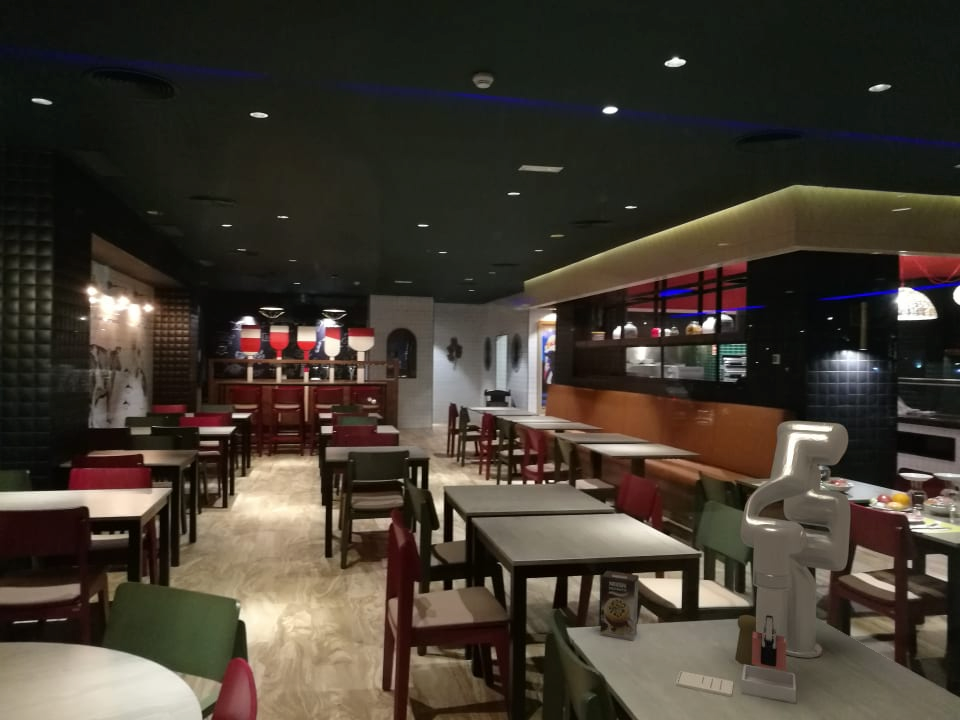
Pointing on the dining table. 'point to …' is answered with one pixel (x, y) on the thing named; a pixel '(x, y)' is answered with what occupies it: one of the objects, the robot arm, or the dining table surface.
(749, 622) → the cork
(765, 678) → the tray
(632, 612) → the coffee box
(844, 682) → the dining table surface
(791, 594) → the robot arm
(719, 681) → the ticket
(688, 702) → the dining table surface
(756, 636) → the red block with stripe
